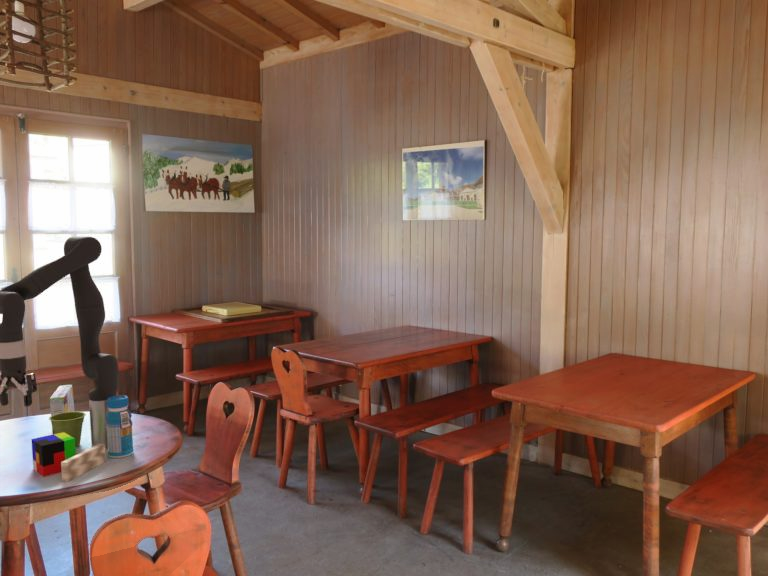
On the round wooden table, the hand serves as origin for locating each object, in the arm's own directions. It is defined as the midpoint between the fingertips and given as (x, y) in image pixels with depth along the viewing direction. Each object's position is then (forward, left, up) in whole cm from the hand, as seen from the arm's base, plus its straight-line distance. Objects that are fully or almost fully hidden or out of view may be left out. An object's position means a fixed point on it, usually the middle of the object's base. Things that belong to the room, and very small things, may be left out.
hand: (16, 405), depth 207 cm
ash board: (-6, +19, -22) cm, 30 cm away
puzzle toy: (-6, +8, -23) cm, 24 cm away
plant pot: (-26, -3, -22) cm, 34 cm away
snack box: (-45, -21, -23) cm, 55 cm away
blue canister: (-22, +21, -22) cm, 38 cm away
